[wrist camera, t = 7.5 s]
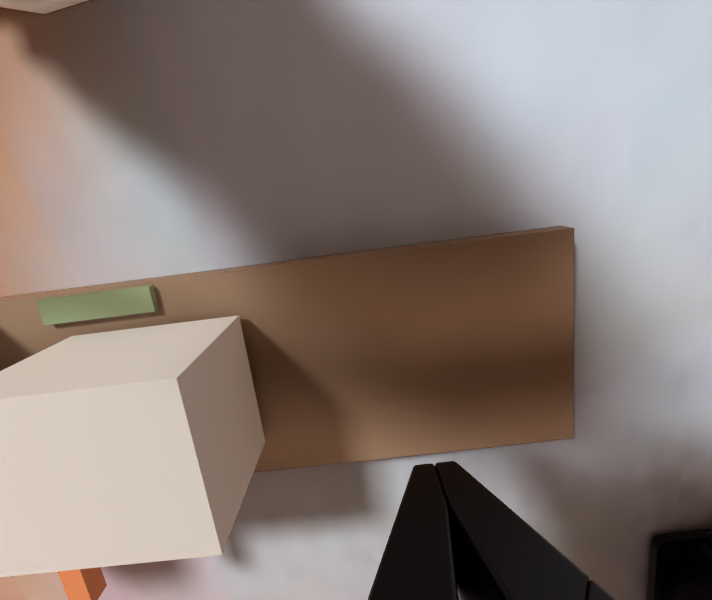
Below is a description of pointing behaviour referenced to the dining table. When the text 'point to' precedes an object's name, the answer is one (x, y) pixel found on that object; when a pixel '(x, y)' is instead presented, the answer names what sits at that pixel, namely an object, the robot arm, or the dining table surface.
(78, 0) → the decorative candle
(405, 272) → the gauge board
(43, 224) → the dining table surface
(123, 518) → the block
